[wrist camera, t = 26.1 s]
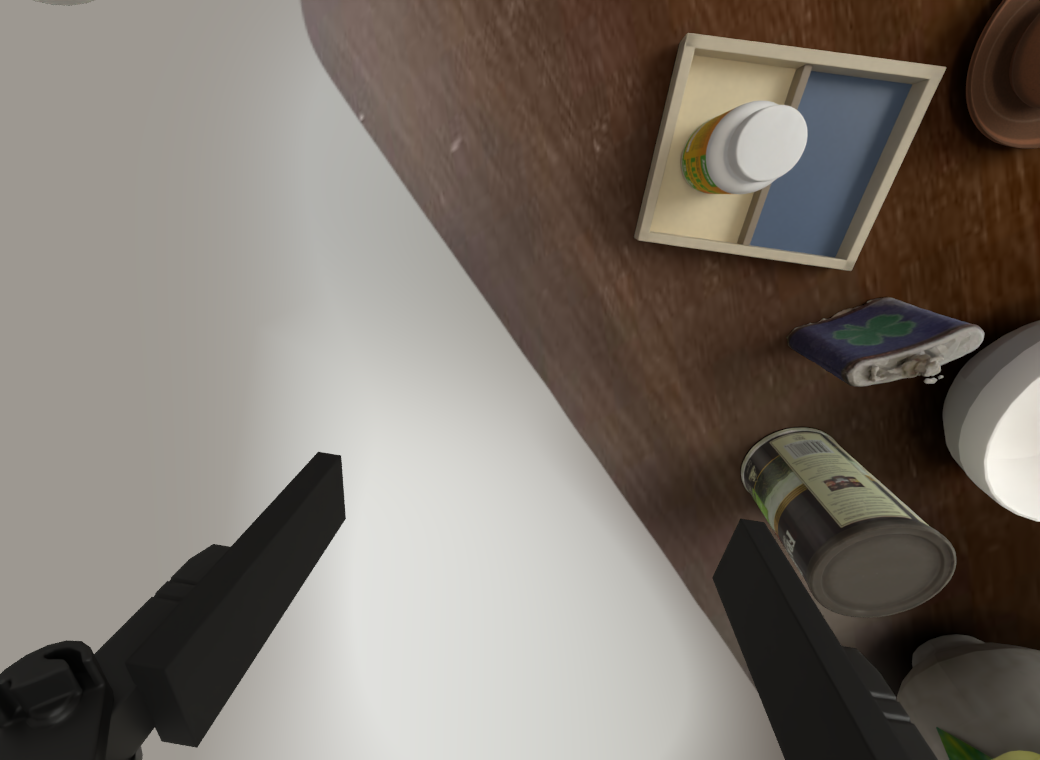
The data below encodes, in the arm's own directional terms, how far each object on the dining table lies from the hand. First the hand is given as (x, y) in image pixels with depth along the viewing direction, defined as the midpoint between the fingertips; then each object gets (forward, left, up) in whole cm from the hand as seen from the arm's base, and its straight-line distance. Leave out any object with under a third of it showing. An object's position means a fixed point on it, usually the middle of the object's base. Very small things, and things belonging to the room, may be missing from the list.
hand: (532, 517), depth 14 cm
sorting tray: (+15, +14, -29) cm, 35 cm away
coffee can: (+29, -14, -29) cm, 43 cm away
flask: (+27, +2, -29) cm, 40 cm away
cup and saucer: (+32, +23, -29) cm, 49 cm away
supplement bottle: (+11, +14, -28) cm, 33 cm away
